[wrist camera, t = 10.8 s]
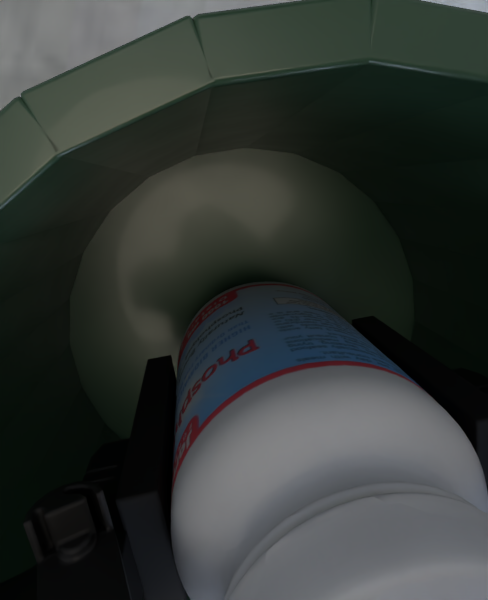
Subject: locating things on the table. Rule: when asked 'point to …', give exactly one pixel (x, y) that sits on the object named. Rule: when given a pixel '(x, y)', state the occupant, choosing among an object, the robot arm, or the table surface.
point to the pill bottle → (315, 463)
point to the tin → (231, 207)
